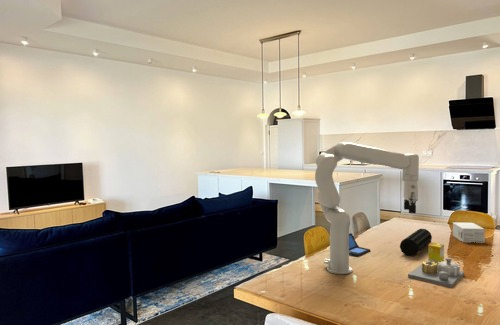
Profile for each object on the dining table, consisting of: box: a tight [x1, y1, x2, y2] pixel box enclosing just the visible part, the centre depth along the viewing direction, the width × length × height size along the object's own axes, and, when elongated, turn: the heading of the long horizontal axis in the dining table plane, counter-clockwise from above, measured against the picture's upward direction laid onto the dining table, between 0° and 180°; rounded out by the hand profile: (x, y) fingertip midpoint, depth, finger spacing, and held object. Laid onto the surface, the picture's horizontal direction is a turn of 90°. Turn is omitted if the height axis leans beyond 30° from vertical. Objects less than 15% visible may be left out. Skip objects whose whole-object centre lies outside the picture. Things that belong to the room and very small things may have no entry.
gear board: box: [407, 257, 465, 288], centre depth 176 cm, size 19×20×8 cm
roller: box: [399, 228, 433, 257], centre depth 221 cm, size 38×10×10 cm, turn 140°
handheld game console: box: [349, 232, 371, 258], centre depth 217 cm, size 16×13×9 cm
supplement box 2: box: [452, 221, 486, 244], centre depth 239 cm, size 17×13×9 cm
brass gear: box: [421, 260, 437, 274], centre depth 178 cm, size 7×7×4 cm
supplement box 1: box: [427, 242, 445, 266], centre depth 191 cm, size 6×6×11 cm
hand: (409, 211), depth 188 cm, fingers open, 9 cm apart
